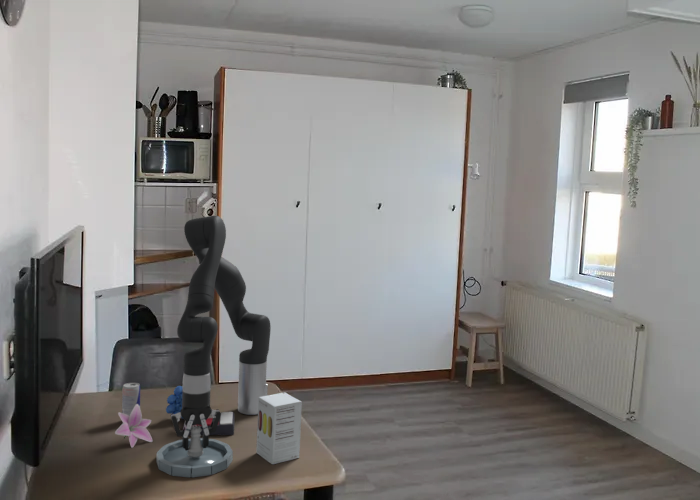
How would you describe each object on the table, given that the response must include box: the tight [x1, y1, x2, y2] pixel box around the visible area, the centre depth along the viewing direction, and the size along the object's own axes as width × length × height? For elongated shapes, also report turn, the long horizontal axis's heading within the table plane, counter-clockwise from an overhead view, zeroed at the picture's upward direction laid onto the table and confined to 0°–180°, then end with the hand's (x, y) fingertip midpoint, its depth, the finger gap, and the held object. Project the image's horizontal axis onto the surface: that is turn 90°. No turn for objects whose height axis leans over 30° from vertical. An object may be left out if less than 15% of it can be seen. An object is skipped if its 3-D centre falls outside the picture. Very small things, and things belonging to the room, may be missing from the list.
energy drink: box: [121, 382, 141, 416], centre depth 211 cm, size 5×5×12 cm
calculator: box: [188, 411, 236, 437], centre depth 209 cm, size 11×4×15 cm
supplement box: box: [255, 391, 303, 465], centre depth 191 cm, size 10×9×17 cm
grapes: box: [165, 385, 184, 420], centre depth 216 cm, size 12×7×12 cm, turn 120°
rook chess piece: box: [187, 425, 203, 457], centre depth 185 cm, size 4×4×8 cm
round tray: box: [156, 437, 234, 478], centre depth 185 cm, size 20×20×2 cm
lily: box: [114, 404, 154, 449], centre depth 196 cm, size 12×12×10 cm
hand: (195, 448), depth 185 cm, fingers closed on rook chess piece, 4 cm apart
